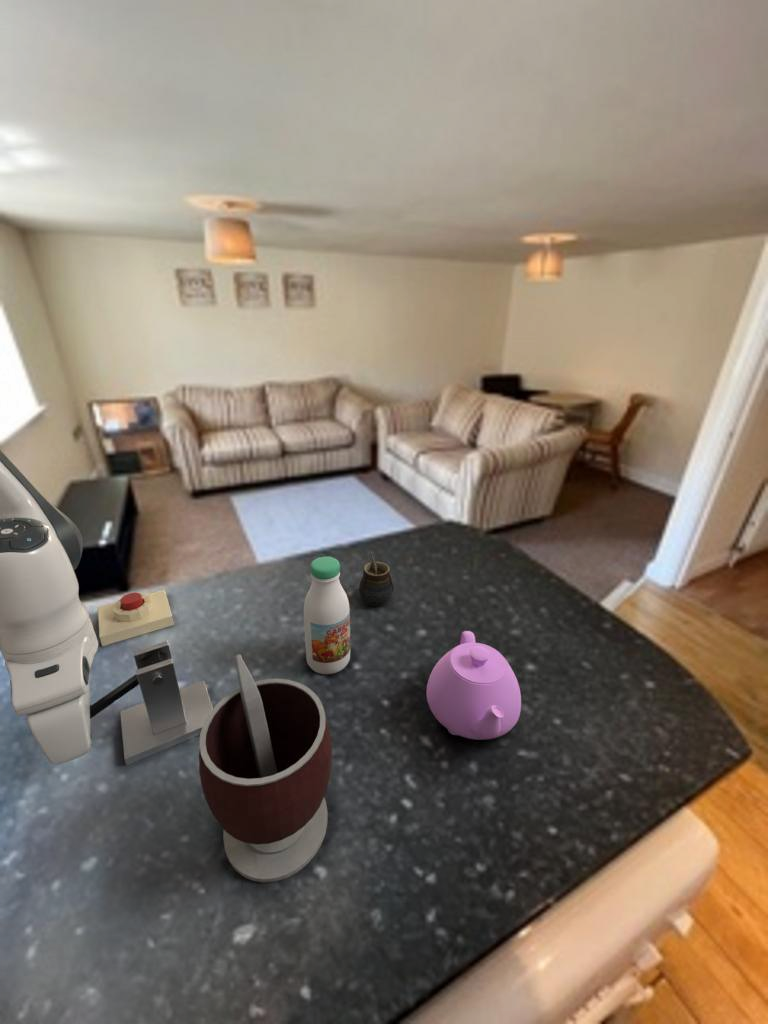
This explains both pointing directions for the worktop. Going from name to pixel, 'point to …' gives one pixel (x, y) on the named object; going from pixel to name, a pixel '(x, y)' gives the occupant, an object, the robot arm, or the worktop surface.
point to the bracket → (162, 708)
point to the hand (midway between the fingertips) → (84, 726)
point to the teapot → (474, 691)
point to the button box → (134, 618)
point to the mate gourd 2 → (376, 583)
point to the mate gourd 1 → (267, 774)
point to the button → (131, 601)
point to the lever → (124, 686)
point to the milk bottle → (326, 619)
